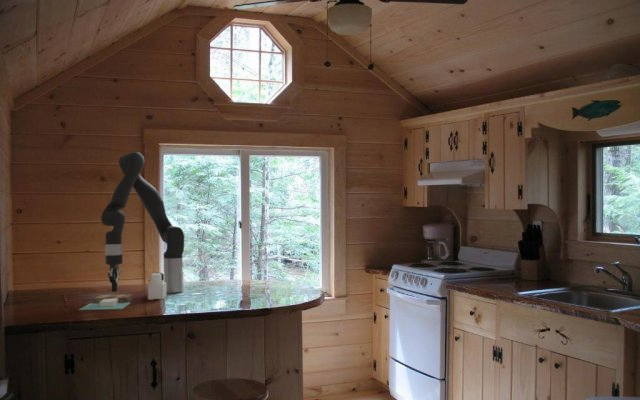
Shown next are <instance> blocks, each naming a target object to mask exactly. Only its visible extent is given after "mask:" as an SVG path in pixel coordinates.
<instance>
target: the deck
mask: <svg viewBox="0 0 640 400" xmlns="http://www.w3.org/2000/svg"><path fill="white" fill-rule="evenodd" d="M133 295H134V294H129V293H127V294H99V295H97V296H95V297H93V303H100V301H102V300H103V299H114V298H118V303H129V302H132V301H133V300H134V296H133Z"/></svg>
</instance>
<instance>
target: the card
mask: <svg viewBox="0 0 640 400" xmlns="http://www.w3.org/2000/svg"><path fill="white" fill-rule="evenodd" d="M117 303H118V298H114V299H103V300H102V301H100V306H115V305H116V304H117Z"/></svg>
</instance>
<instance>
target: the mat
mask: <svg viewBox="0 0 640 400" xmlns="http://www.w3.org/2000/svg"><path fill="white" fill-rule="evenodd" d="M131 303H132V301H130V302H128V303H117V304H116V305H115V306H100V303H94V302H93V303H92V302H91V303H88V304H87V305H85V306H82V307H81V308H79V309H78V311H96V310H97V311H100V310H123V309H124V308H126V307H127V306H129V305H130V304H131Z"/></svg>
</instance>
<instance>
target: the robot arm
mask: <svg viewBox="0 0 640 400" xmlns="http://www.w3.org/2000/svg"><path fill="white" fill-rule="evenodd" d="M118 165H119V168H120V170H121V171H122V173H123V174H124V176H123V177H122V179H121V180H120V182H119V183H118V184H117V185H116V187H115V189H114V190H113V194H112V197H111V198H110V201H109V202H108V204H107V206H106V207H105V208H104V210H103V211H102V213H101V215H100V220H101V221H100V222H101V224H102V225H104V226H106V227H113V228H112V230H110V231H109V230H108V231H107V232H105V248H104V252H105V254H104V255H105V256H104V257H105V259H104V260H105V262H104V263H105V264H106V265H107V266H108V265H109V269H108V272H107V275H108V279H109V280H108V281H109V283H110V284H111V292H117V291H118V290H119V289H118V283H119V280H120V276H121V275H120V274H121V269H120V266H119V265H122V264H123V258H124V257H123V244H122V240H123V239H122V234H123V230H124V225H125V222H126V217H125V213H124V212H123V211H122V210H124V209H125V207H126V205H127V203H128V201H129V200H128V199H129V197H130V194H131V191H132V189H134V191H135V192H136V194H137V196H138V197H139V200H140V201H141V203H142V204H143V206H144V208H145V209H146V211H147V213H148V214H149V217H150V218H151V220H152V221H153V223H154V224H155V227H156V229H157V232H158V234H159V236H160V238H161V240H162V242H164V243H165V244H166V250H165V251H164V253H163V274H164V282H166V294H169V293H170V294H172V293H174V294H175V293H182V292H184V291H185V290H184V271H183V254H184V250H185V234H184V231H183V229H182V228H181V227H180V226H175V225H174V226H173V224H172V223H171V221H170V220H169V218H168V216H167V213H166V209H165V203H164V200H163V199H162V196H161V195H160V193H159V191H158V189H156V188H155V187H154V186H153V185H152V184H151V183H150V182H147V180H146V179H144V178H143V177H142V176H141V174H140V173H141V172H142V170H143V168H144V165H145V157H144V155H143V154H142V153H141V152H138V151H132V152H129V153H126V154H123V155H121V156H120V157H119V158H118Z"/></svg>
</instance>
